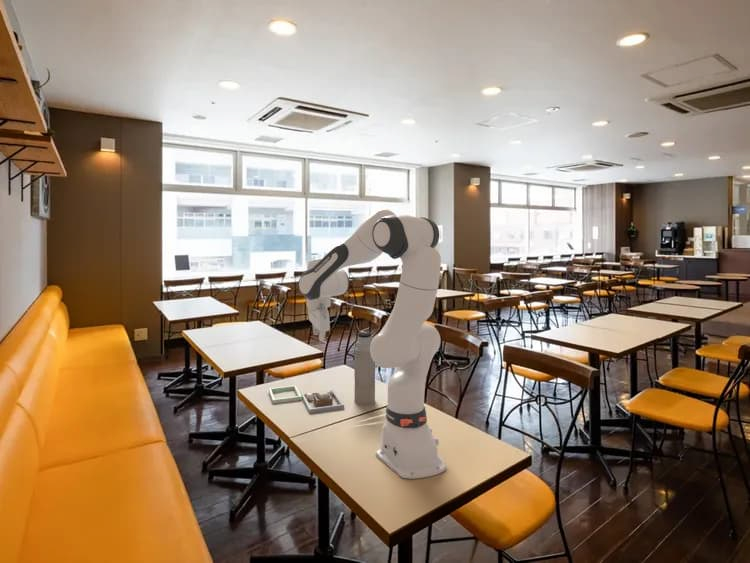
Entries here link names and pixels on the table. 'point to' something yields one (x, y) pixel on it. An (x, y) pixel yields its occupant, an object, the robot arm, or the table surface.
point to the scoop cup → (323, 401)
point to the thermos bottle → (364, 371)
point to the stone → (322, 395)
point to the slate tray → (326, 408)
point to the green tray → (281, 390)
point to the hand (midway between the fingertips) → (318, 337)
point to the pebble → (309, 397)
